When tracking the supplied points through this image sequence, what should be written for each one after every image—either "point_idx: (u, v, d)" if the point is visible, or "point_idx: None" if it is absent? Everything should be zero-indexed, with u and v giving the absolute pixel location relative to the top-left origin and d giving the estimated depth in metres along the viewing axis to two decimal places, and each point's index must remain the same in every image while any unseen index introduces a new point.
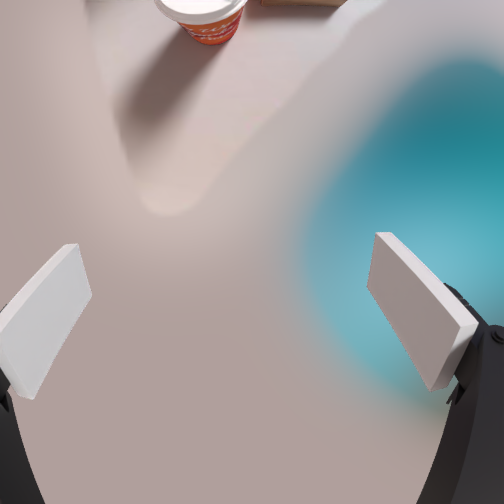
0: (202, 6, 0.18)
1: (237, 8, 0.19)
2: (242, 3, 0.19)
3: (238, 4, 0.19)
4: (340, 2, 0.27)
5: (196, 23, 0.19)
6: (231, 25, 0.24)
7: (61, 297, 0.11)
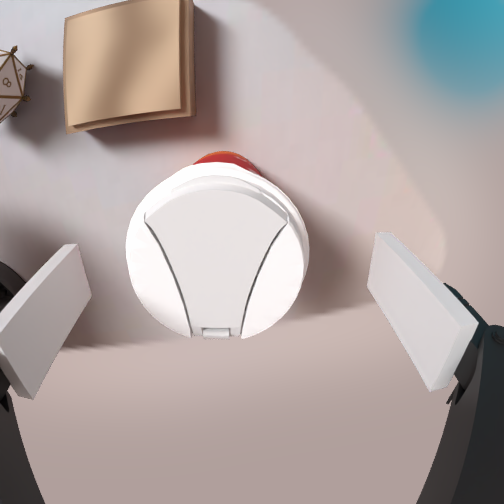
0: (287, 273, 0.13)
1: (287, 201, 0.13)
2: (277, 191, 0.12)
3: (280, 200, 0.12)
4: (191, 2, 0.17)
5: (305, 272, 0.14)
6: None
7: (61, 297, 0.11)
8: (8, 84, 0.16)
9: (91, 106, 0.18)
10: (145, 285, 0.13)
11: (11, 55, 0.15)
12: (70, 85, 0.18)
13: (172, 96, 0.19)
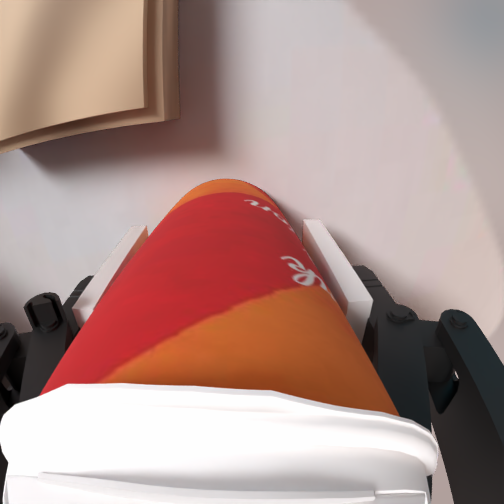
0: None
1: (427, 447, 0.03)
2: (412, 441, 0.03)
3: (413, 458, 0.03)
4: None
5: None
6: (316, 267, 0.09)
7: None
8: None
9: (5, 113, 0.09)
10: None
11: None
12: None
13: (129, 85, 0.09)
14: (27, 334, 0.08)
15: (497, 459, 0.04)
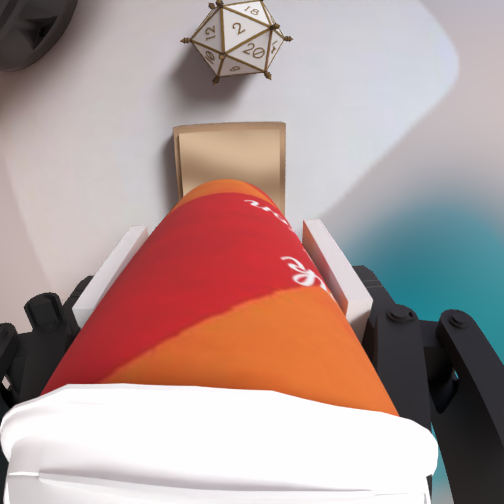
0: None
1: (427, 447, 0.03)
2: (411, 441, 0.03)
3: (413, 458, 0.03)
4: None
5: None
6: None
7: None
8: (232, 69, 0.23)
9: (193, 156, 0.27)
10: None
11: (262, 72, 0.23)
12: (214, 135, 0.26)
13: None
14: (27, 334, 0.08)
15: (497, 459, 0.04)
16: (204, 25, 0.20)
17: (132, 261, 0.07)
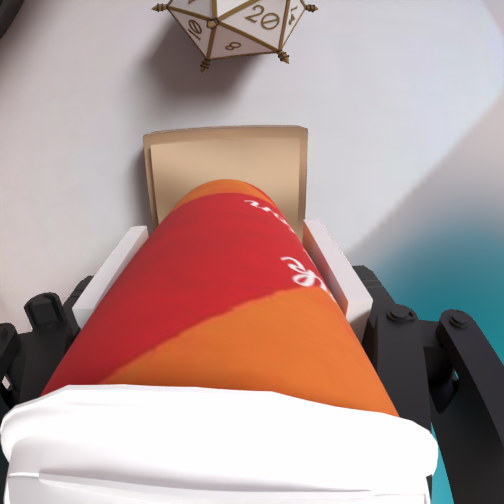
0: None
1: (427, 448, 0.03)
2: (411, 441, 0.03)
3: (412, 459, 0.03)
4: None
5: None
6: (316, 268, 0.09)
7: None
8: (229, 47, 0.14)
9: (171, 177, 0.18)
10: None
11: (275, 51, 0.14)
12: (203, 147, 0.17)
13: None
14: (27, 334, 0.08)
15: (497, 459, 0.04)
16: None
17: (132, 261, 0.07)
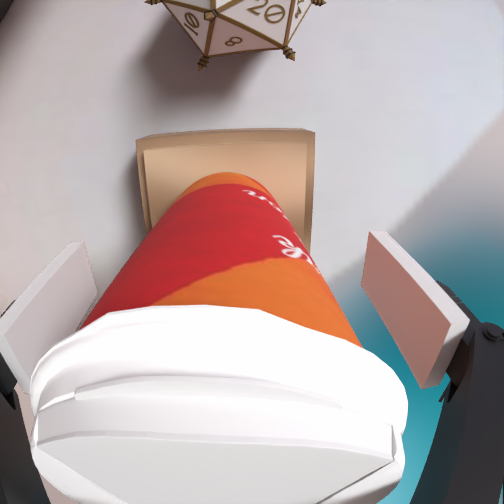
0: (360, 501, 0.04)
1: (392, 384, 0.04)
2: (374, 371, 0.04)
3: (378, 389, 0.04)
4: None
5: None
6: (305, 248, 0.10)
7: (68, 294, 0.11)
8: (229, 43, 0.13)
9: (166, 186, 0.17)
10: (86, 501, 0.04)
11: (280, 48, 0.13)
12: (200, 153, 0.16)
13: None
14: None
15: None
16: None
17: (145, 240, 0.09)
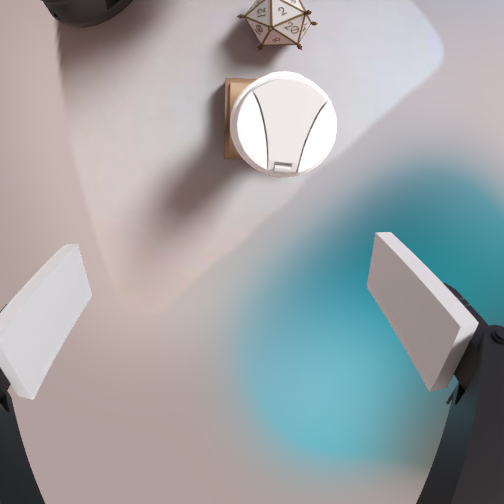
0: (326, 129, 0.21)
1: (326, 96, 0.21)
2: (320, 90, 0.21)
3: (322, 94, 0.21)
4: None
5: (334, 138, 0.23)
6: None
7: (61, 297, 0.11)
8: (274, 40, 0.29)
9: None
10: (245, 129, 0.21)
11: (296, 44, 0.30)
12: None
13: None
14: None
15: None
16: (256, 6, 0.26)
17: None
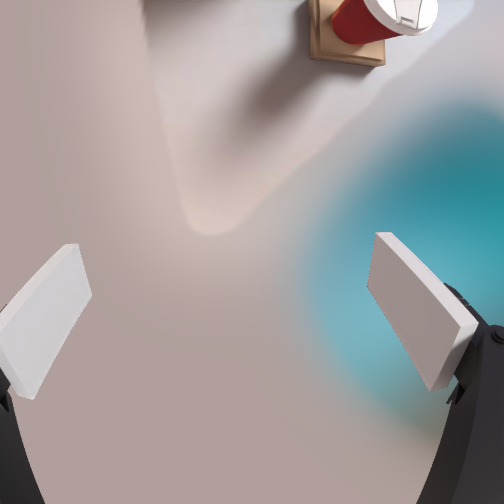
0: (432, 3, 0.18)
1: None
2: None
3: None
4: (377, 65, 0.35)
5: None
6: None
7: (61, 297, 0.11)
8: None
9: (328, 7, 0.30)
10: None
11: None
12: None
13: (328, 48, 0.33)
14: None
15: None
16: None
17: None
